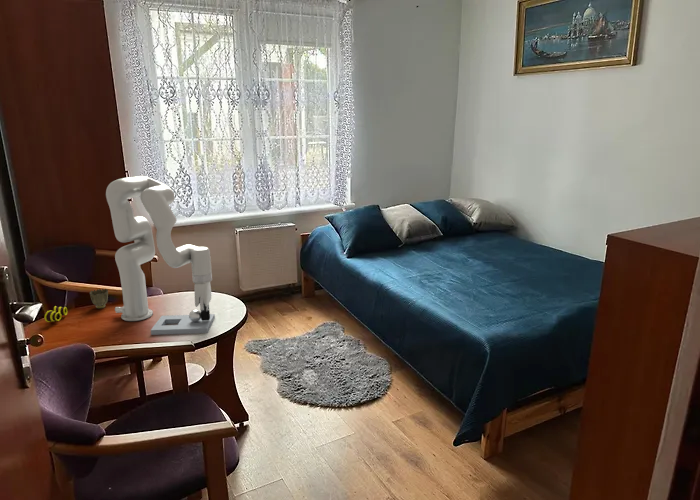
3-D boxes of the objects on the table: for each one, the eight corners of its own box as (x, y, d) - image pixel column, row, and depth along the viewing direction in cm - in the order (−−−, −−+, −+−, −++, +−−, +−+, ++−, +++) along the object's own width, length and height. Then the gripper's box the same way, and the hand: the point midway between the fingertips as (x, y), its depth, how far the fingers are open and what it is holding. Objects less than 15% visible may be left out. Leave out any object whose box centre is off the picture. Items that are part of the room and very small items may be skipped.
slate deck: (151, 334, 194) (150, 330, 194) (162, 320, 209) (161, 315, 208) (207, 332, 196) (207, 328, 195) (214, 318, 210) (214, 314, 210)
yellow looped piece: (58, 323, 205) (56, 312, 204) (45, 324, 205) (43, 312, 204) (69, 314, 215) (67, 304, 214) (56, 315, 214) (55, 304, 213)
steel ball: (188, 324, 199) (186, 312, 198) (191, 319, 204) (189, 308, 203) (200, 323, 200) (199, 311, 198) (203, 318, 204) (202, 307, 203)
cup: (92, 306, 224) (90, 289, 222) (110, 303, 227) (108, 287, 225) (91, 311, 218) (88, 294, 216) (109, 309, 221) (107, 292, 219)
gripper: (196, 272, 204) (200, 313, 209) (188, 283, 190) (192, 327, 195) (215, 271, 205) (218, 312, 210) (208, 283, 190) (211, 326, 195)
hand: (205, 319), depth 202 cm, fingers closed
